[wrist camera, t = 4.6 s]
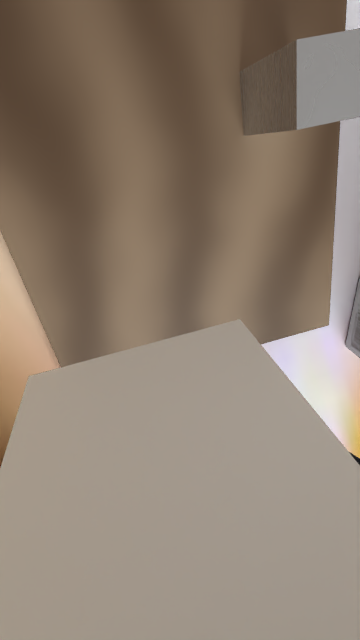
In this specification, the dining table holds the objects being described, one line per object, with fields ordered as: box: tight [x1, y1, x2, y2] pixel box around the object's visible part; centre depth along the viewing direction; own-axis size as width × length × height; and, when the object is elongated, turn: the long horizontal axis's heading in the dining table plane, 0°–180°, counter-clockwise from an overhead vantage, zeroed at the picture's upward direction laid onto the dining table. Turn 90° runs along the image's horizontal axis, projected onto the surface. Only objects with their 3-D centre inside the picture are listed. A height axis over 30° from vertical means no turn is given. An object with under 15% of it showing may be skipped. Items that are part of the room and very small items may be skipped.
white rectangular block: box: [0, 319, 360, 640], centre depth 7 cm, size 5×5×7 cm
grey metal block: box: [239, 28, 360, 136], centre depth 14 cm, size 3×3×5 cm
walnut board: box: [0, 0, 347, 367], centre depth 18 cm, size 18×20×1 cm
